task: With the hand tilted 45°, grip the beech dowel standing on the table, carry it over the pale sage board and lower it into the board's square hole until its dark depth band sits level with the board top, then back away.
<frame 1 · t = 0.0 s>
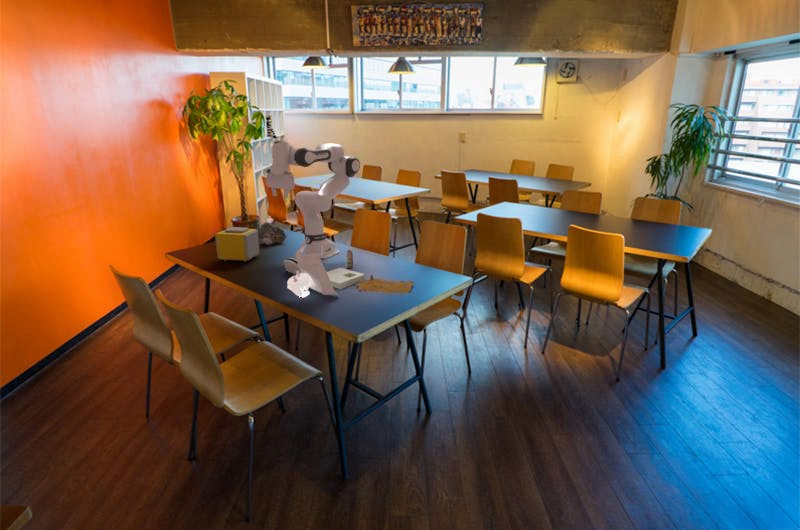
hand: (280, 196, 248), 39 cm above the table, tool pointing down, fingers open, 8 cm apart
beech dowel: (350, 267, 255), on the table
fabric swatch: (308, 295, 214), on the table
leather hide: (386, 289, 224), on the table
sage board: (340, 280, 234), on the table
rock: (272, 243, 306), on the table
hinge: (296, 274, 244), on the table
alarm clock: (239, 259, 270), on the table
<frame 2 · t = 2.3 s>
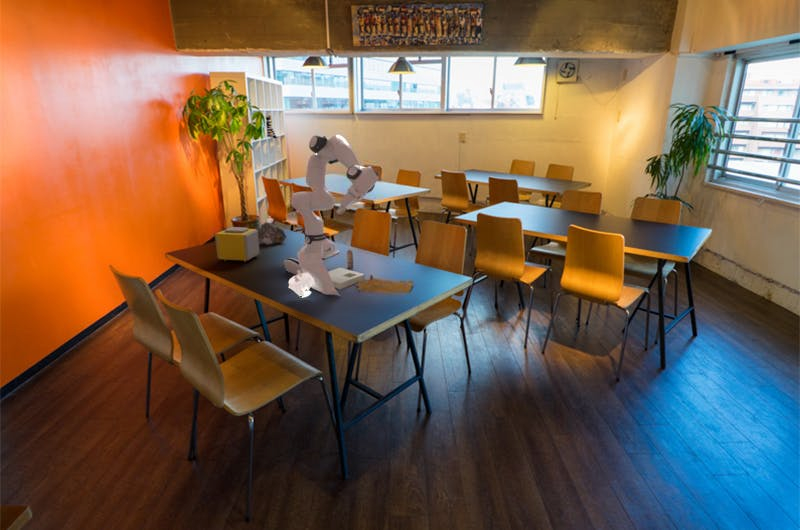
hand: (338, 213, 239), 32 cm above the table, tool tilted 45°, fingers open, 8 cm apart
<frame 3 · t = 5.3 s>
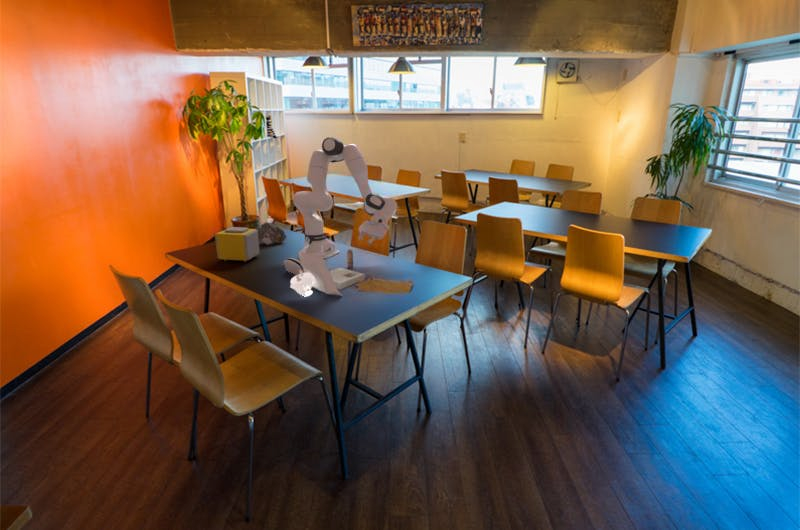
hand: (364, 241, 256), 14 cm above the table, tool tilted 45°, fingers open, 8 cm apart
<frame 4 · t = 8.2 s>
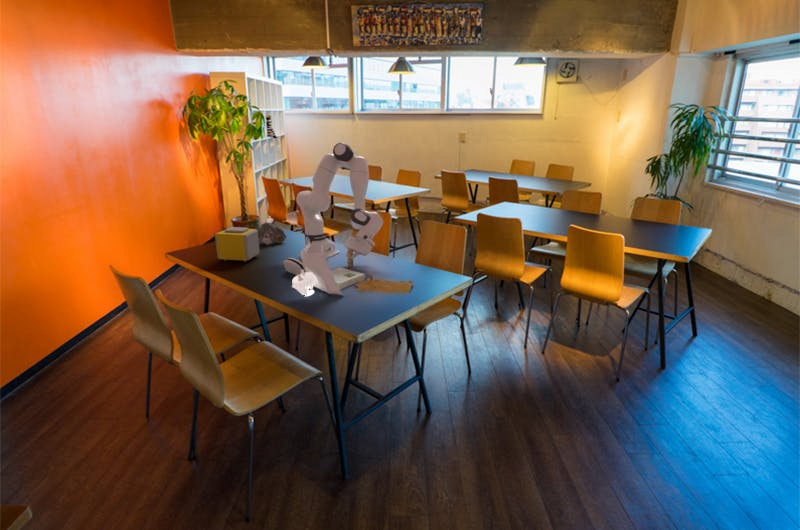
hand: (349, 257, 253), 6 cm above the table, tool tilted 45°, fingers closed on beech dowel, 3 cm apart
beech dowel: (350, 267, 255), on the table, touching gripper
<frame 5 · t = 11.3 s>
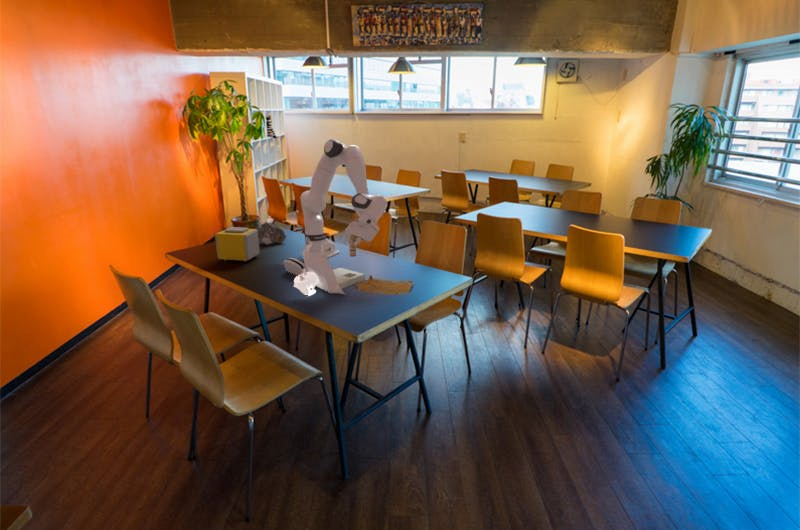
hand: (351, 244, 231), 19 cm above the table, tool tilted 45°, fingers closed on beech dowel, 3 cm apart
beech dowel: (352, 255, 234), point 12 cm above the table, touching gripper
when the fingers open (7 cm above the table, at t = 14.6 s): beech dowel stays where it is, resting in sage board.
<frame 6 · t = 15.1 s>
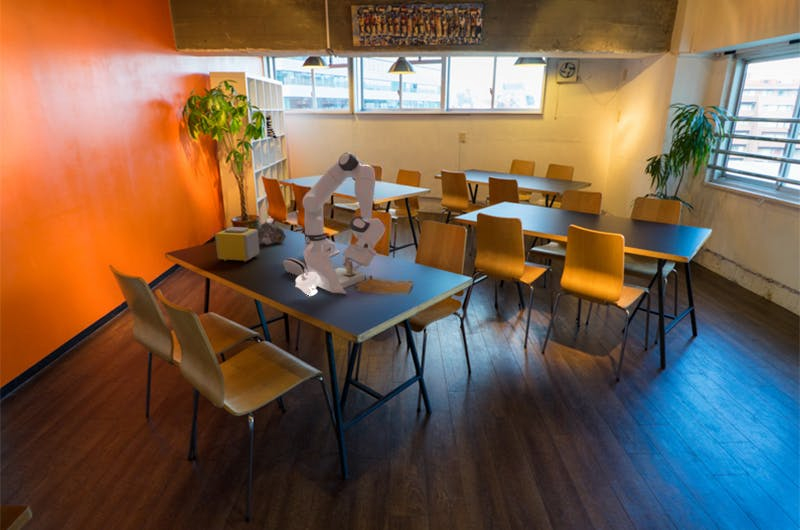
hand: (348, 268, 232), 7 cm above the table, tool tilted 45°, fingers open, 8 cm apart
beech dowel: (349, 280, 234), resting in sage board
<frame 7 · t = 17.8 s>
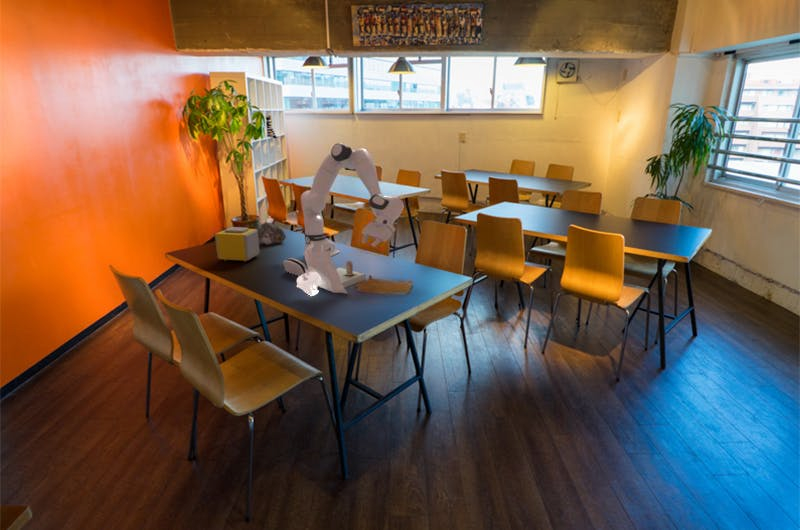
hand: (367, 244, 236), 17 cm above the table, tool tilted 45°, fingers open, 8 cm apart
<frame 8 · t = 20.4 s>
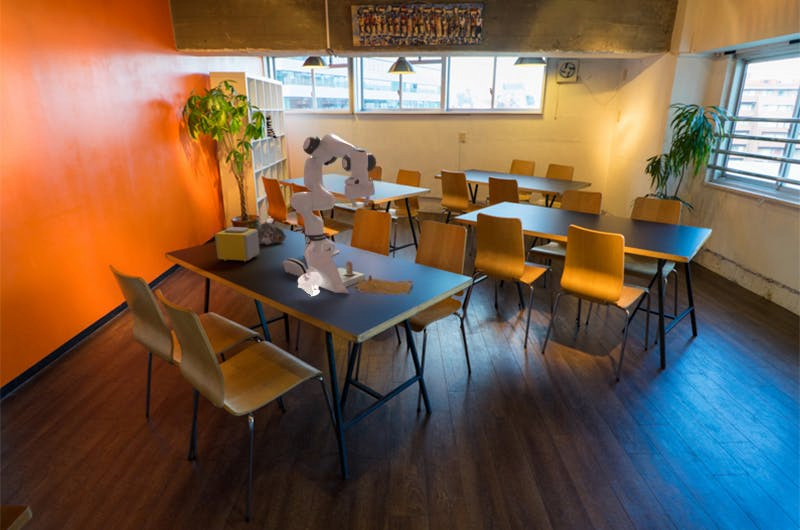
hand: (360, 205, 244), 35 cm above the table, tool pointing down, fingers open, 8 cm apart
at the end: beech dowel 0.0 cm from the target spot on the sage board, point 0.0 cm above the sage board's base; beech dowel tilted 0°; the gripper is holding nothing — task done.
